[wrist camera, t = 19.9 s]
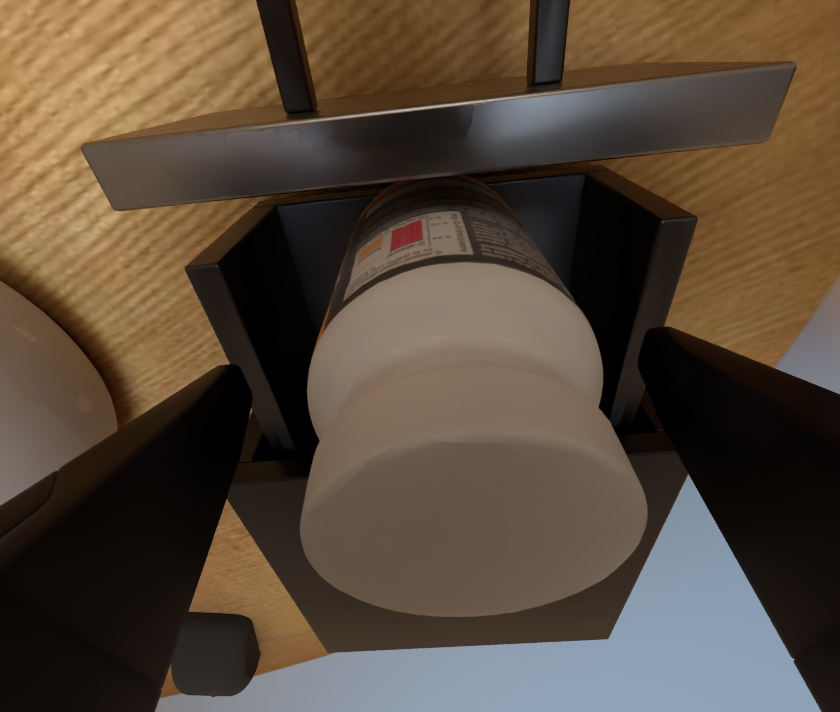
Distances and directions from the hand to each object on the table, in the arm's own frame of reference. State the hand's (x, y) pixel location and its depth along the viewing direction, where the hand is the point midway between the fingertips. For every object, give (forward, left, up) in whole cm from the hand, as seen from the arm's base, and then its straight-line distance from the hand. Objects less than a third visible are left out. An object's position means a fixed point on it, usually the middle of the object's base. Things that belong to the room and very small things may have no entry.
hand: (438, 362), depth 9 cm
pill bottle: (0, 0, -6) cm, 6 cm away
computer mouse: (+23, +37, -8) cm, 44 cm away
